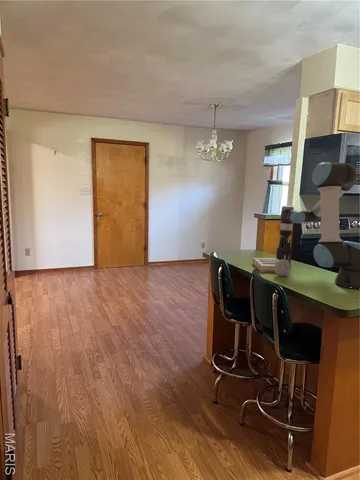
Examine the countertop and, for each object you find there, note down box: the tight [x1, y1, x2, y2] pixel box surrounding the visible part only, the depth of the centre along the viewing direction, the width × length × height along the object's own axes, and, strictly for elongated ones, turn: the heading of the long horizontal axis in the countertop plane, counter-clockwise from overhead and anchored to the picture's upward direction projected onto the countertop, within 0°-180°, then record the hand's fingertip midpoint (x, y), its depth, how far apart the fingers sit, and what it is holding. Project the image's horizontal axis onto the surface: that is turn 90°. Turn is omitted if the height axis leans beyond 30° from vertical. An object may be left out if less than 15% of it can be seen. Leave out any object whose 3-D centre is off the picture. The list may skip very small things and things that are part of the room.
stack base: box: [252, 257, 284, 273], centre depth 205 cm, size 20×16×4 cm
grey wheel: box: [274, 259, 291, 277], centre depth 187 cm, size 10×3×10 cm, turn 109°
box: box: [275, 246, 293, 265], centre depth 217 cm, size 8×6×11 cm
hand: (283, 262), depth 218 cm, fingers closed on box, 9 cm apart
